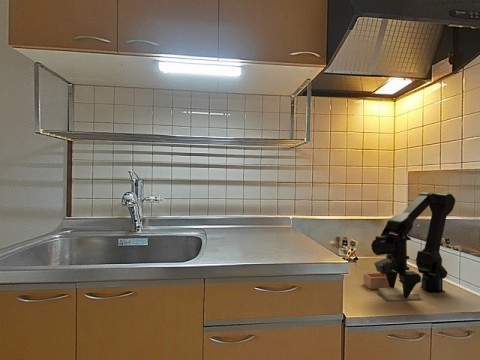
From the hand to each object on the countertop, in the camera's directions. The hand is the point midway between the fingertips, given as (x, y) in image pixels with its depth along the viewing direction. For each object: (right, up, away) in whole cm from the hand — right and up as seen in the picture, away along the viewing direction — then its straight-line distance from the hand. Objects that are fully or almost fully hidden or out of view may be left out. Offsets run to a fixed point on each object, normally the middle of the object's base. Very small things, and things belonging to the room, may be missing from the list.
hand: (398, 293), depth 119 cm
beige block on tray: (0, -1, 0) cm, 1 cm away
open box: (-3, -1, +11) cm, 11 cm away
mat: (0, -1, 0) cm, 1 cm away
